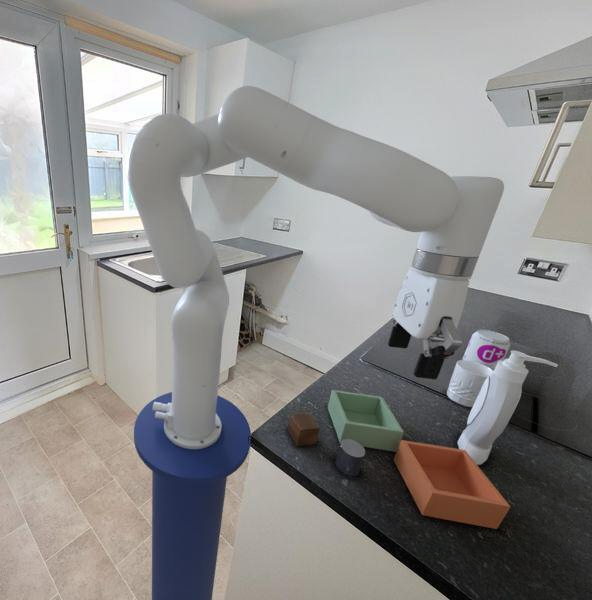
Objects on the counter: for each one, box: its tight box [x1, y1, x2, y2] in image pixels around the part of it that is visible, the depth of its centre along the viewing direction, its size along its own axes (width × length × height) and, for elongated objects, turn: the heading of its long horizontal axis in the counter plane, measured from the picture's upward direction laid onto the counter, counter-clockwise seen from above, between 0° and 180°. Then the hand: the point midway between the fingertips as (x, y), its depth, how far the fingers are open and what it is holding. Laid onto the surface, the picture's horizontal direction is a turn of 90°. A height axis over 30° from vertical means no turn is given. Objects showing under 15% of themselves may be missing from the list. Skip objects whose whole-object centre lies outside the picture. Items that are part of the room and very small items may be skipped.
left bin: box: [327, 389, 405, 453], centre depth 72 cm, size 12×12×6 cm
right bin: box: [393, 439, 511, 530], centre depth 57 cm, size 12×12×6 cm
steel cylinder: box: [334, 439, 366, 477], centre depth 61 cm, size 4×4×5 cm
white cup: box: [446, 359, 493, 408], centre depth 83 cm, size 8×8×10 cm
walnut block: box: [287, 412, 321, 447], centre depth 68 cm, size 4×4×4 cm
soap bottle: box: [457, 350, 559, 466], centre depth 63 cm, size 13×8×24 cm, turn 139°
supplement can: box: [461, 329, 511, 371], centre depth 92 cm, size 8×8×15 cm
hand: (409, 360), depth 53 cm, fingers open, 9 cm apart
